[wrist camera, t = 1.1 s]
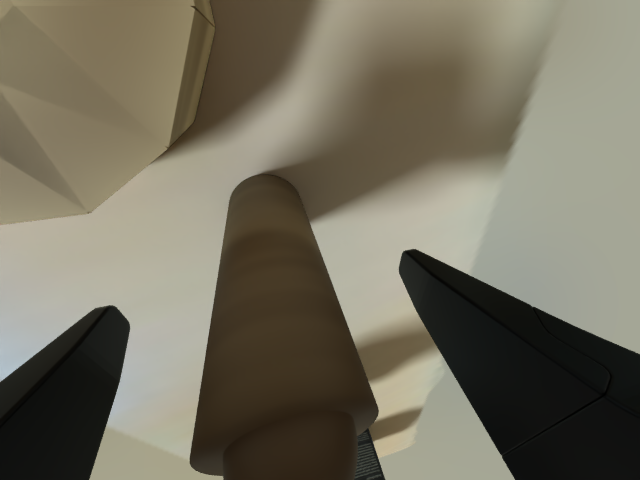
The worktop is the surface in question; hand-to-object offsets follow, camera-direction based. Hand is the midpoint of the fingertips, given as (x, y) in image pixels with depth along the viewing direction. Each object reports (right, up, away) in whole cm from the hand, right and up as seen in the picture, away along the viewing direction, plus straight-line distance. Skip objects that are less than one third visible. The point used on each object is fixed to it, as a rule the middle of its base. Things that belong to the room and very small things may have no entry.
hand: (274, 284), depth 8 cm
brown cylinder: (-1, +3, +4) cm, 5 cm away
